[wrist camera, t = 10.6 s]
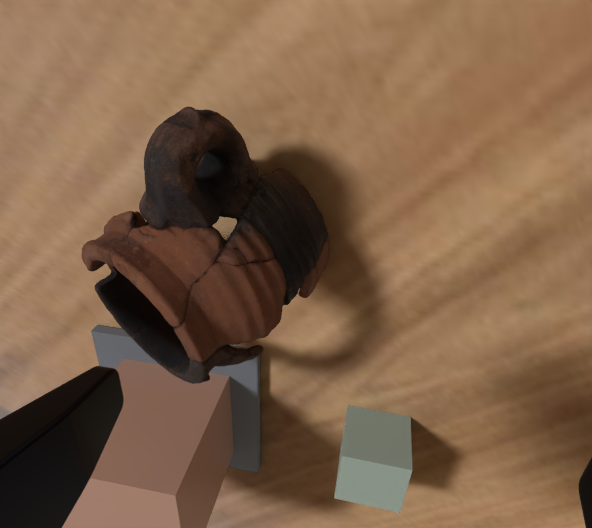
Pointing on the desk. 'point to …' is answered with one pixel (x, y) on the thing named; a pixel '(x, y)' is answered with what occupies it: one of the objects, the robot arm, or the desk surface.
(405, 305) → the desk surface
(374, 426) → the sage block
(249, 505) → the desk surface
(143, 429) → the dusty pink block
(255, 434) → the slate mat
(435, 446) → the desk surface
